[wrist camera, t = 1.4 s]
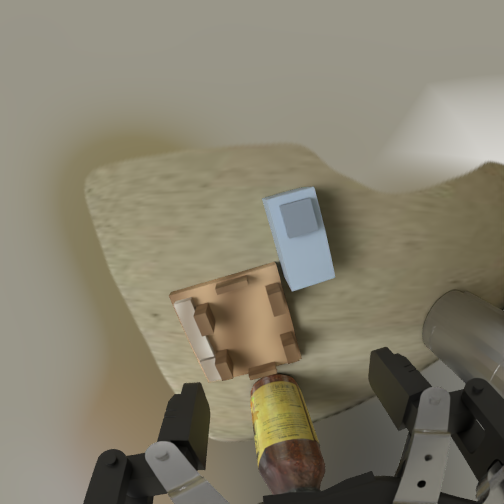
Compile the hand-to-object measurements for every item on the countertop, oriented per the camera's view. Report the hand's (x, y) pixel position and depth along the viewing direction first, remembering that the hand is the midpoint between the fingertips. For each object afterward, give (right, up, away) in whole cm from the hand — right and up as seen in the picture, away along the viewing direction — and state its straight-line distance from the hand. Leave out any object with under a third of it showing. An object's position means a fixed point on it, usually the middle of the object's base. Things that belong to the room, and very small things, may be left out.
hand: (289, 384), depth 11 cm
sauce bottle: (+1, -11, +20) cm, 23 cm away
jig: (-3, -2, +17) cm, 17 cm away
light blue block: (+2, +8, +15) cm, 17 cm away
